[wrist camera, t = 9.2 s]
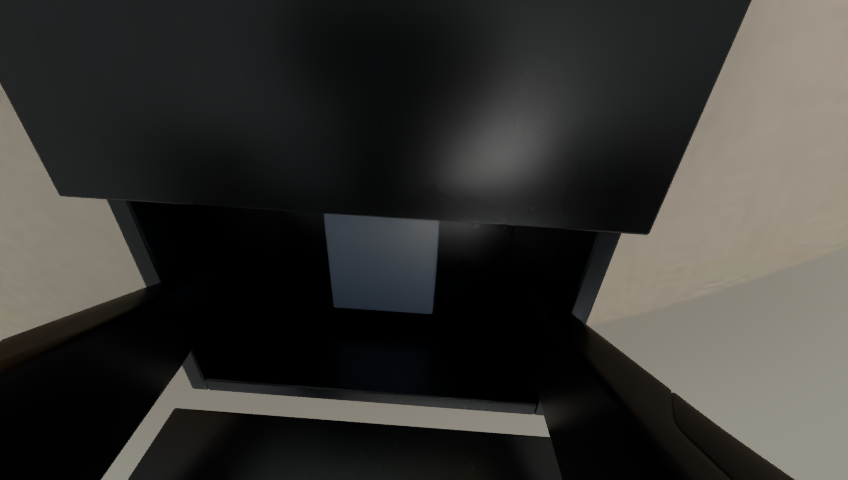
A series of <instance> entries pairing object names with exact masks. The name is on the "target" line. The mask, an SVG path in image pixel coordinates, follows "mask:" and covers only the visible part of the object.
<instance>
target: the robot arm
mask: <svg viewBox="0 0 848 480" xmlns="http://www.w3.org/2000/svg"><path fill="white" fill-rule="evenodd" d="M218 303H219V293H218V289H217V286H216V283H215V280H214V277H213V275H212V274H211V273H210V272H208V271H199V270H194V271H190V272H187V273H184V274H182V275H179V276H176V277H173V278H171V279H168V280H165V281H162V282H160V283H157V284H154V285H151V286H149V287H146V288H143V289H140V290H138V291H135V292H132V293H129V294H127V295H124V296H121V297H118V298H116V299H113V300H110V301H107V302H105V303H102V304H99V305H96V306H94V307H91V308H88V309H85V310H83V311H80V312H77V313H74V314H72V315H69V316H66V317H63V318H61V319H58V320H55V321H52V322H50V323H47V324H44V325H41V326H39V327H36V328H33V329H30V330H28V331H25V332H22V333H19V334H17V335H14V336H11V337H8V338H6V339H3V340H1V341H0V480H101V479H102V477H103V475H104V474H105V473H106V472H107V470H108V469H109V467H110V466H111V464H112V463H113V462H114V460H115V459H116V457H117V456H118V454H119V453H120V452H121V450H122V449H123V447H124V446H125V445H126V443H127V442H128V440H129V439H130V438H131V436H132V435H133V433H134V432H135V430H136V429H137V427H138V426H139V425H140V423H141V422H142V421H143V419H144V418H145V416H146V415H147V413H148V412H149V411H150V409H151V408H152V406H153V405H154V404H155V402H156V401H157V399H158V398H159V396H160V395H161V394H162V392H163V391H164V389H165V388H166V386H167V385H168V384H169V382H170V381H171V379H172V378H173V377H174V375H175V374H176V372H177V371H178V370H179V368H180V367H181V365H182V364H183V363H184V361H185V360H186V358H187V357H188V355H189V354H190V352H191V350H192V349H193V347H194V345H195V344H196V342H197V340H198V338H199V337H200V335H201V333H202V331H203V330H204V328H205V326H206V324H207V323H208V321H209V319H210V317H211V316H212V314H213V312H214V310H215V309H216V307H217V305H218ZM525 331H526V336H527V342H528V348H529V354H530V360H531V366H532V372H533V377H534V382H535V385H536V389H537V393H538V396H539V400H540V403H541V406H542V410H543V413H544V417H545V420H546V424H547V427H548V431H549V434H550V438H551V441H552V445H553V448H554V452H555V455H556V459H557V462H558V466H559V469H560V473H561V476H562V479H563V480H794V479H793V478H791V477H790V476H789V475H787V474H786V473H784V472H783V471H781V470H780V469H778V468H777V467H775V466H774V465H773V464H771V463H770V462H768V461H767V460H765V459H764V458H762V457H761V456H760V455H758V454H757V453H755V452H754V451H753V450H751V449H750V448H748V447H747V446H745V445H744V444H743V443H741V442H740V441H738V440H737V439H736V438H734V437H733V436H732V435H730V434H728V433H727V432H726V431H724V430H723V429H722V428H720V427H719V426H717V425H716V424H715V423H714V422H712V421H711V420H710V419H708V418H707V417H706V416H704V415H703V414H702V413H700V412H699V411H698V410H696V409H695V408H694V407H692V406H691V405H690V404H688V403H687V402H686V401H685V400H683V399H682V398H681V397H680V396H678V395H677V394H675V393H671V390H670V389H669V388H668V387H666V386H665V385H664V384H663V383H661V382H660V381H659V380H657V379H656V378H655V377H653V376H652V375H651V374H650V373H648V372H647V371H646V370H644V369H643V368H642V367H640V366H639V365H638V364H637V363H635V362H634V361H633V360H631V359H630V358H629V357H627V356H626V355H625V354H624V353H622V352H621V351H620V350H619V349H617V348H616V347H615V346H613V345H612V344H611V343H609V342H608V341H607V340H605V339H604V338H603V337H602V336H600V335H599V334H598V333H596V332H595V331H594V330H593V329H591V328H590V327H589V326H587V325H586V324H585V323H584V322H582V321H581V320H580V319H578V318H577V317H576V316H575V315H573V314H572V313H571V312H569V311H568V310H567V309H565V308H564V307H563V306H562V305H560V304H559V303H558V302H556V301H555V300H554V299H553V298H551V297H550V296H548V295H542V294H533V295H532V296H531V297H530V300H529V304H528V308H527V312H526V315H525Z"/></svg>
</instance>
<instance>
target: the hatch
mask: <svg viewBox="0 0 848 480" xmlns="http://www.w3.org/2000/svg"><path fill="white" fill-rule="evenodd" d="M128 480H563V479H562V476H561V473H560V469H559V466H558V462H557V459H556V455H555V452H554V448H553V445H552V441H551V438H550V437H539V436H525V435H512V434H500V433H486V432H474V431H461V430H449V429H435V428H423V427H410V426H397V425H384V424H371V423H359V422H346V421H333V420H321V419H308V418H294V417H282V416H269V415H255V414H243V413H230V412H218V411H204V410H192V409H179V408H175V409H174V410H173V412H172V413H171V415H170V417H169V418H168V419H167V421H166V422H165V424H164V425H163V427H162V429H161V430H160V432H159V433H158V435H157V436H156V438H155V439H154V441H153V442H152V444H151V445H150V447H149V449H148V450H147V451H146V453H145V455H144V456H143V457H142V459H141V460H140V462H139V463H138V465H137V467H136V468H135V470H134V471H133V473H132V474H131V476H130V477H129V479H128Z"/></svg>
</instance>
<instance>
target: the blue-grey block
mask: <svg viewBox="0 0 848 480" xmlns="http://www.w3.org/2000/svg"><path fill="white" fill-rule="evenodd" d="M323 216H324V225H325V234H326V243H327V252H328V261H329V270H330V279H331V288H332V297H333V306H334V307H336V308H350V309H364V310H378V311H392V312H406V313H420V314H432V313H433V307H434V295H435V283H436V271H437V259H438V247H439V235H440V224H441V221H431V220H416V219H400V218H385V217H370V216H355V215H340V214H324V213H323Z"/></svg>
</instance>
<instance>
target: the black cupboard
mask: <svg viewBox="0 0 848 480" xmlns="http://www.w3.org/2000/svg"><path fill="white" fill-rule="evenodd" d="M750 3H751V0H0V83H1V85H2V87H3V89H4V91H5V93H6V95H7V97H8V98H9V100H10V102H11V104H12V106H13V108H14V110H15V112H16V114H17V116H18V117H19V119H20V121H21V123H22V125H23V127H24V129H25V131H26V133H27V134H28V136H29V138H30V140H31V142H32V144H33V146H34V148H35V150H36V152H37V153H38V155H39V157H40V159H41V161H42V163H43V165H44V167H45V169H46V170H47V172H48V174H49V176H50V178H51V180H52V182H53V184H54V186H55V188H56V189H57V191H58V193H59V195H60V196H66V197H81V198H97V199H107V201H108V203H109V206H110V208H111V210H112V212H113V214H114V217H115V219H116V221H117V223H118V225H119V227H120V230H121V232H122V234H123V236H124V238H125V241H126V243H127V245H128V247H129V249H130V252H131V254H132V256H133V258H134V260H135V263H136V265H137V267H138V269H139V271H140V274H141V276H142V278H143V280H144V282H145V285H146V287H149V286H151V285H154V284H157V283H160V282H162V281H165V280H168V279H171V278H173V277H176V276H179V275H182V274H184V273H187V272H190V271H194V270H199V271H208V272H210V273H211V274H212V275H213V277H214V280H215V283H216V286H217V289H218V293H219V303H218V305H217V307H216V309H215V310H214V312H213V314H212V316H211V317H210V319H209V321H208V323H207V324H206V326H205V328H204V330H203V331H202V333H201V335H200V337H199V338H198V340H197V342H196V344H195V345H194V347H193V349H192V350H191V352H190V354H189V355H188V357H187V358H186V360H185V361H184V363H183V364H182V366H183V368H184V370H185V372H186V374H187V377H188V379H189V381H190V383H191V385H192V388H194V389H210V390H220V391H232V392H246V393H259V394H271V395H284V396H285V395H286V396H298V397H310V398H323V399H337V400H350V401H363V402H376V403H389V404H402V405H415V406H428V407H441V408H454V409H467V410H480V411H493V412H506V413H520V414H535V415H544V413H543V410H542V406H541V403H540V400H539V396H538V393H537V389H536V385H535V382H534V377H533V372H532V366H531V360H530V354H529V348H528V342H527V336H526V331H525V315H526V312H527V308H528V304H529V300H530V297H531V296H532V295H533V294H542V295H548V296H550V297H551V298H553V299H554V300H555V301H556V302H558V303H559V304H560V305H562V306H563V307H564V308H565V309H567V310H568V311H569V312H571V313H572V314H573V315H575V316H576V317H577V318H578V319H580V320H581V321H582V322H584V323H585V324H586V322H587V320H588V317H589V315H590V312H591V309H592V307H593V304H594V302H595V299H596V297H597V294H598V292H599V289H600V286H601V284H602V281H603V279H604V276H605V274H606V271H607V269H608V266H609V263H610V261H611V258H612V256H613V253H614V251H615V248H616V246H617V243H618V240H619V238H620V235H621V233H628V234H643V235H647V234H649V233H650V230H651V228H652V226H653V224H654V221H655V219H656V217H657V214H658V212H659V210H660V208H661V205H662V203H663V201H664V199H665V196H666V194H667V192H668V189H669V187H670V185H671V183H672V180H673V178H674V176H675V173H676V171H677V169H678V167H679V164H680V162H681V160H682V158H683V155H684V153H685V151H686V148H687V146H688V144H689V142H690V139H691V137H692V135H693V132H694V130H695V128H696V126H697V123H698V121H699V119H700V116H701V114H702V112H703V110H704V107H705V105H706V103H707V101H708V98H709V96H710V94H711V91H712V89H713V87H714V85H715V82H716V80H717V78H718V75H719V73H720V71H721V69H722V66H723V64H724V62H725V60H726V57H727V55H728V53H729V50H730V48H731V46H732V44H733V41H734V39H735V37H736V34H737V32H738V30H739V28H740V25H741V23H742V21H743V18H744V16H745V14H746V12H747V9H748V7H749V5H750ZM323 213H324V214H340V215H355V216H370V217H385V218H400V219H416V220H431V221H441V224H440V235H439V247H438V259H437V271H436V283H435V295H434V307H433V313H432V314H420V313H406V312H392V311H378V310H364V309H350V308H336V307H334V306H333V297H332V288H331V279H330V270H329V261H328V252H327V243H326V234H325V225H324V216H323Z"/></svg>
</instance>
